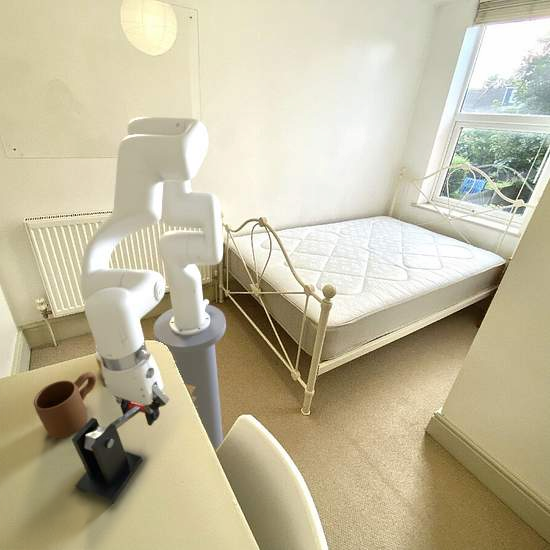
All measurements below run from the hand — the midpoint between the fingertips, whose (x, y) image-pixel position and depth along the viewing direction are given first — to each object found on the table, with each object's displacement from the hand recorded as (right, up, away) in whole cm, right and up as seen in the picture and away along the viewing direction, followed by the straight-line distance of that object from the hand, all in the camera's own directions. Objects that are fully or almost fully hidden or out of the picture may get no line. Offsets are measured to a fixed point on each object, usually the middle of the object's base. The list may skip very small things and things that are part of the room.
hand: (142, 415), depth 65 cm
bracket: (-3, -8, -7) cm, 11 cm away
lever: (-2, +1, -7) cm, 7 cm away
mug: (-16, -2, +4) cm, 17 cm away
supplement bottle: (-14, +4, +16) cm, 21 cm away
